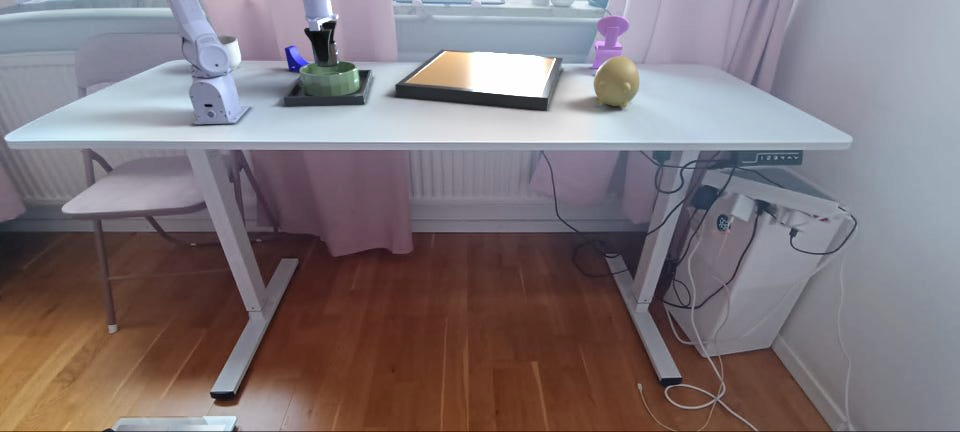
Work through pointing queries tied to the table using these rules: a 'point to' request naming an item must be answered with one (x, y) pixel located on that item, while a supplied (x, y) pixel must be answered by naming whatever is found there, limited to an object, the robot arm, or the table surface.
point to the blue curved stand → (294, 59)
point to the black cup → (332, 56)
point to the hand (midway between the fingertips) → (326, 57)
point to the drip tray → (302, 99)
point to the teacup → (231, 49)
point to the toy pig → (616, 82)
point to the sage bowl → (330, 79)
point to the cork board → (484, 79)
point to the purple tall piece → (609, 38)
